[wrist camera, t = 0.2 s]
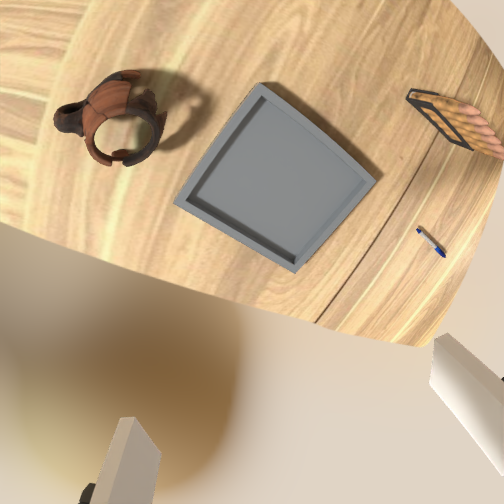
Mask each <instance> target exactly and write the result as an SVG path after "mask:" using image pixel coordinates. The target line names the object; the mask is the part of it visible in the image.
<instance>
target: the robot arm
mask: <svg viewBox="0 0 504 504" xmlns="http://www.w3.org/2000/svg"><path fill="white" fill-rule="evenodd" d="M429 385H430V386H431V387H432V388H433V389H434V391H435V392H436V393H437V394H438V395H439V397H440V398H441V399H442V400H443V401H444V403H445V404H446V405H447V406H448V407H449V409H451V411H452V412H453V413H454V415H455V416H456V417H457V419H458V420H459V421H460V422H461V423H462V425H463V426H464V427H465V429H466V430H467V431H468V432H469V434H470V435H471V436H472V437H473V439H474V440H475V441H476V443H477V444H478V445H479V446H480V448H481V449H482V450H483V452H484V453H485V454H486V456H487V457H488V458H489V460H490V461H491V462H492V464H493V465H494V466H495V468H496V469H497V471H498V472H499V473H500V474H501V476H502V477H503V476H504V377H503V378H502V379H500V378H499V377H498V376H497V375H496V374H495V373H493V372H492V371H491V370H490V369H489V368H488V367H487V366H485V365H484V364H483V363H482V362H481V361H480V360H479V359H478V358H476V357H475V356H474V355H473V354H472V353H471V352H470V351H468V350H467V349H466V348H465V347H464V346H463V345H461V344H460V343H459V342H458V341H457V340H456V339H454V338H453V337H452V336H451V335H450V334H448V333H446V334H444V335H442V336H440V337H438V338H436V339H435V340H434V351H433V360H432V368H431V376H430V383H429ZM160 459H161V452H160V451H159V449H158V448H157V447H156V446H155V444H154V443H153V442H152V440H151V439H150V437H148V435H147V433H146V432H145V431H144V429H143V428H142V426H141V425H140V423H139V422H138V421H137V419H136V418H135V417H123V418H120V420H119V423H118V426H117V428H116V431H115V433H114V436H113V438H112V441H111V444H110V446H109V449H108V452H107V455H106V457H105V460H104V463H103V466H102V469H101V471H100V474H99V477H98V480H97V483H96V484H93V483H89V484H88V486H87V487H86V488H85V489H84V490H83V492H82V495H81V498H80V500H79V501H80V503H78V504H152V501H153V496H154V490H155V485H156V479H157V474H158V469H159V464H160Z"/></svg>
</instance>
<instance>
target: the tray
mask: <svg viewBox="0 0 504 504" xmlns="http://www.w3.org/2000/svg"><path fill="white" fill-rule="evenodd" d="M375 183H376V180H375V179H374V178H373V177H372V176H371V175H370V174H369V173H368V172H367V171H366V170H365V169H364V168H363V167H362V166H361V165H360V164H359V163H358V162H357V161H355V160H354V159H353V158H352V157H351V156H350V155H349V154H348V153H347V152H346V151H345V150H343V149H342V148H341V147H340V146H339V145H338V144H337V143H336V142H335V141H333V140H332V139H331V138H330V137H329V136H328V135H326V134H325V133H324V132H323V131H322V130H321V129H319V128H318V127H317V126H316V125H315V124H313V123H312V122H311V121H310V120H309V119H307V118H306V117H305V116H304V115H302V114H301V113H300V112H299V111H297V110H296V109H295V108H293V107H292V106H291V105H290V104H288V103H287V102H286V101H284V100H283V99H282V98H280V97H279V96H278V95H276V94H275V93H274V92H272V91H271V90H269V89H268V88H267V87H265V86H264V85H263V84H261V83H260V82H259V83H256V85H255V86H254V87H253V88H252V90H251V91H250V92H249V93H248V95H247V96H246V97H245V98H244V100H243V101H242V102H241V104H240V105H239V106H238V108H237V109H236V110H235V111H234V113H233V114H232V115H231V117H230V118H229V119H228V121H227V122H226V124H225V125H224V126H223V128H222V129H221V130H220V132H219V133H218V134H217V136H216V137H215V139H214V140H213V142H212V143H211V144H210V146H209V147H208V149H207V150H206V152H205V153H204V154H203V156H202V157H201V159H200V160H199V162H198V163H197V165H196V166H195V168H194V169H193V171H192V172H191V174H190V175H189V177H188V178H187V180H186V181H185V183H184V184H183V186H182V188H181V189H180V191H179V192H178V194H177V195H176V197H175V199H174V202H173V204H175V205H177V206H178V207H180V208H182V209H184V210H185V211H187V212H189V213H191V214H192V215H194V216H196V217H198V218H199V219H201V220H203V221H204V222H206V223H208V224H210V225H211V226H213V227H215V228H217V229H218V230H220V231H222V232H223V233H225V234H227V235H229V236H230V237H232V238H234V239H236V240H237V241H239V242H241V243H243V244H244V245H246V246H248V247H249V248H251V249H253V250H255V251H256V252H258V253H260V254H261V255H263V256H265V257H267V258H268V259H270V260H272V261H274V262H275V263H277V264H279V265H280V266H282V267H284V268H286V269H287V270H289V271H291V272H293V273H294V274H295V273H296V272H297V271H298V270H299V269H300V268H301V267H302V266H303V265H304V263H305V262H306V261H307V260H308V259H309V258H310V257H311V256H312V255H313V254H314V253H315V251H316V250H317V249H318V248H319V247H320V246H321V245H322V244H323V243H324V241H325V240H326V239H327V238H328V237H329V236H330V235H331V234H332V232H333V231H334V230H335V229H336V228H337V227H338V226H339V225H340V223H341V222H342V221H343V220H344V219H345V218H346V217H347V215H348V214H349V213H350V212H351V211H352V210H353V208H354V207H355V206H356V205H357V204H358V203H359V201H360V200H361V199H362V198H363V197H364V196H365V194H366V193H367V192H368V191H369V190H370V189H371V187H372V186H373V185H374V184H375Z"/></svg>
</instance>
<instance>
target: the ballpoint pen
mask: <svg viewBox="0 0 504 504" xmlns="http://www.w3.org/2000/svg"><path fill="white" fill-rule="evenodd" d="M416 230H417V232H418V233H419V234H420V235H421V236H422V237H423V238H424V239H425V240H426V241H427V242H428V243H429V244H430V245H431V246H432V247H433V248H434V249H435V250H436V251H437V252H438V253H439V254H440V255H441V256H442V257H444V258H446V255H445V254H444V252H443V251H442V250H441V249H440V248H439V247H438V246H437V245H435V244H434V243H433V242H432V241H431V240H430V239H429V238H428V237H427V236H426V235H425V234H424V233H423V232H422V231H421V230H420V229H418V228H417V229H416Z"/></svg>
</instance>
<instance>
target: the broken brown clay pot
mask: <svg viewBox="0 0 504 504" xmlns="http://www.w3.org/2000/svg"><path fill="white" fill-rule="evenodd" d="M140 76H141V74H140V73H139V72H138V71H134V70H124V71H119V72H116V73H114V74H111V75H110V76H108V77H107V78H105V79H104V80H103V81H102V82H101V83H100V84H99V85H98V86H97V87H96V88H95V89H94V90H93V91H92V92H91V93H90V94H89V95H88V97H87V99H85V100H83V101H81V102H78V103H71V104H67V105H64V106H61V107H60V108H58V109H57V111H56V113H55V114H54V118H53V120H54V126H55V127H56V128H57V129H58V130H59V131H60V132H64V133H76V134H78V135H79V136H80V137H83V136H86V139H85V140H84V141H85V143H86V146H87V149H88V151H89V153H90V155H91V156H92V157H93V159H95V160H96V161H97V162H99V163H100V164H103V165H105V166H111V165H112V161H123V162H122V164H123V165H124V166H126V167H129V166H133V165H135V164H137V163H140V162H142V161H143V160H145V159H146V158H148V157H149V156H150V155H151V154H152V152H153V151H154V150H155V148H156V147H157V145H158V143H159V140H160V138H161V136H162V134H163V130H164V126H165V121H166V117H167V112H166V111H165V112H163V113H162V114H157V115H156V111H157V103H156V101H155V94H154V93H153V92H152V91H150V90H149V89H145V90H144V92H143V94H142V95H140V96H138V97H137V98H135V99H133V100H131V101H129V102H128V98H129V93H130V90H131V87H132V85H131V84H130V82H128V81H122V80H123V79H122V78H135V79H139V78H140ZM123 114H131V115H136V116H139V117H141V118H142V119H144V120H145V121H147V122H148V124H149V125H150V126H151V129H152V136H151V140H150V142H149V143H148V144H147V145H146V146H145V148H143V149H142V150H141V151H139V152H137V153H134V154H128V152H127V151H126V150H117V151H114V152H112V156H109V155H106V154H104V153H102V152H101V151H100V150H99V149H98V148H97V147H96V145H95V142H94V136H95V132H96V130H97V129H98V127H99V126H100V125H101V124H102V123H103V122H104V121H106V120H107V119H109V118H111V117H114V116H117V115H123Z"/></svg>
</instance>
